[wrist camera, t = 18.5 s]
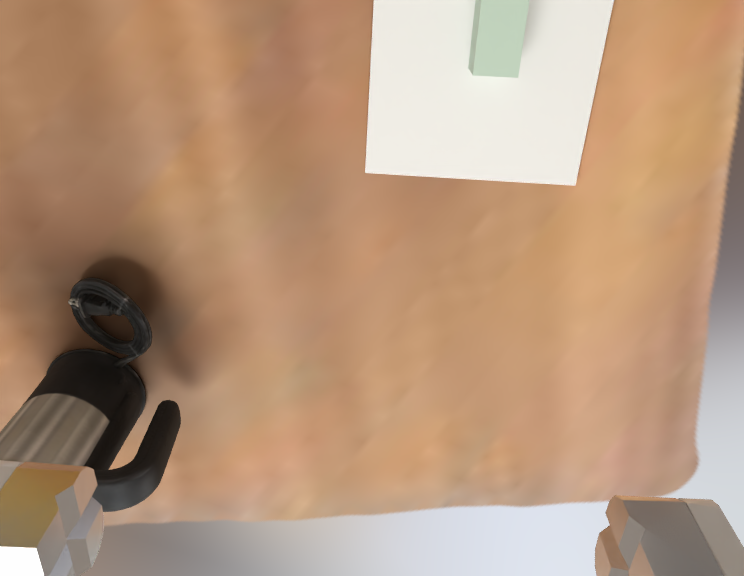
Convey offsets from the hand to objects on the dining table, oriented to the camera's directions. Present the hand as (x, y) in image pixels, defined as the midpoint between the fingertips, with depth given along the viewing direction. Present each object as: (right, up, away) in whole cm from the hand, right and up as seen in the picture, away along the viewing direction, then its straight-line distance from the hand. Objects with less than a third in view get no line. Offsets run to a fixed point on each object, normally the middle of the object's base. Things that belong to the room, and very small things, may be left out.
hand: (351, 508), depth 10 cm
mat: (+8, +23, +34) cm, 42 cm away
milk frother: (-24, -2, +48) cm, 54 cm away
